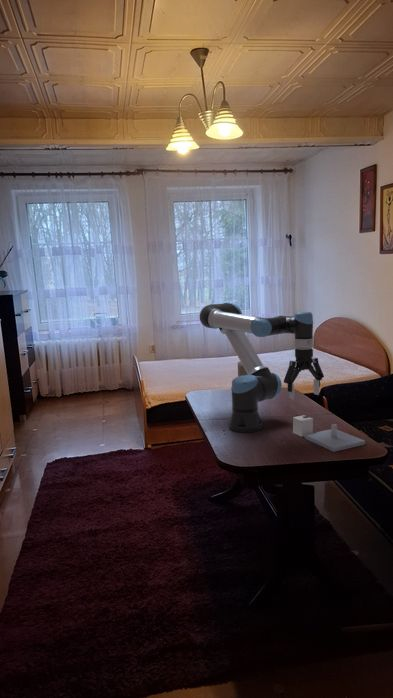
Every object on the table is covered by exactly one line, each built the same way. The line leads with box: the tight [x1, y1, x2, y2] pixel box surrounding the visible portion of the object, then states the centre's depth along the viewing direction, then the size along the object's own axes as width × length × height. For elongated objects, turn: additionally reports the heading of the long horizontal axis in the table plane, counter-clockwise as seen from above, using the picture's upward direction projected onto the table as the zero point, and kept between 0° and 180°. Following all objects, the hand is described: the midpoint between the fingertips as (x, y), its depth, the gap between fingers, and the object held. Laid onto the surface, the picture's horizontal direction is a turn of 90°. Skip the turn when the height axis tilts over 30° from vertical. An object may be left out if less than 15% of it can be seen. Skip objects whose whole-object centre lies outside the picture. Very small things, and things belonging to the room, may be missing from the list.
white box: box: [292, 414, 314, 438], centre depth 199 cm, size 6×6×8 cm
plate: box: [304, 423, 366, 453], centre depth 188 cm, size 16×18×7 cm
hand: (304, 396), depth 199 cm, fingers open, 13 cm apart
